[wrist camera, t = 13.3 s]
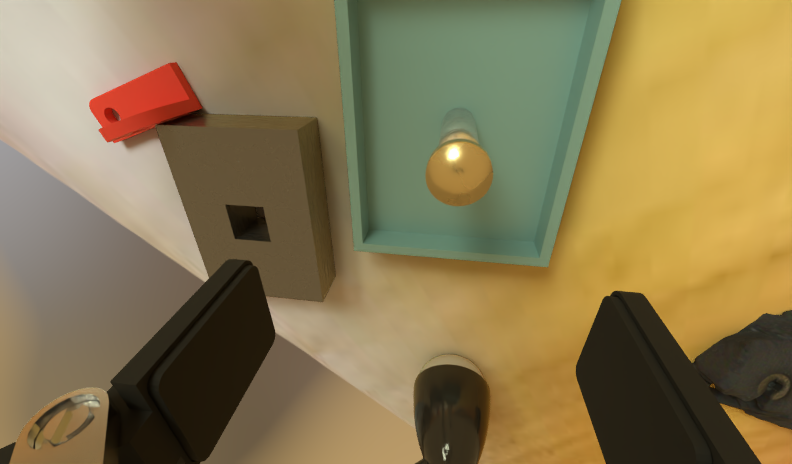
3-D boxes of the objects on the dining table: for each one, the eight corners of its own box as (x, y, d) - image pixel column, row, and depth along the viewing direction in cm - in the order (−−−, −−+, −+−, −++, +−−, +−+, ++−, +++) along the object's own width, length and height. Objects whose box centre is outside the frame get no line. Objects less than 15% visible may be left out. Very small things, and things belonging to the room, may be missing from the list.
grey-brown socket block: (190, 113, 36) (154, 124, 32) (317, 117, 34) (297, 130, 30) (235, 266, 47) (213, 290, 42) (335, 276, 45) (322, 302, 40)
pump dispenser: (405, 349, 50) (386, 462, 37) (476, 337, 46) (482, 456, 33) (429, 393, 54) (420, 508, 41) (495, 385, 51) (508, 507, 38)
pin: (437, 101, 31) (426, 142, 20) (483, 102, 30) (497, 144, 19) (435, 145, 33) (424, 204, 22) (478, 146, 32) (488, 208, 21)
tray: (345, -50, 27) (329, -61, 24) (616, -60, 25) (641, -74, 21) (362, 232, 41) (354, 250, 37) (539, 245, 38) (548, 267, 34)
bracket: (177, 62, 34) (107, 70, 27) (203, 107, 36) (144, 126, 29) (94, 100, 37) (14, 116, 31) (122, 140, 39) (53, 163, 33)
